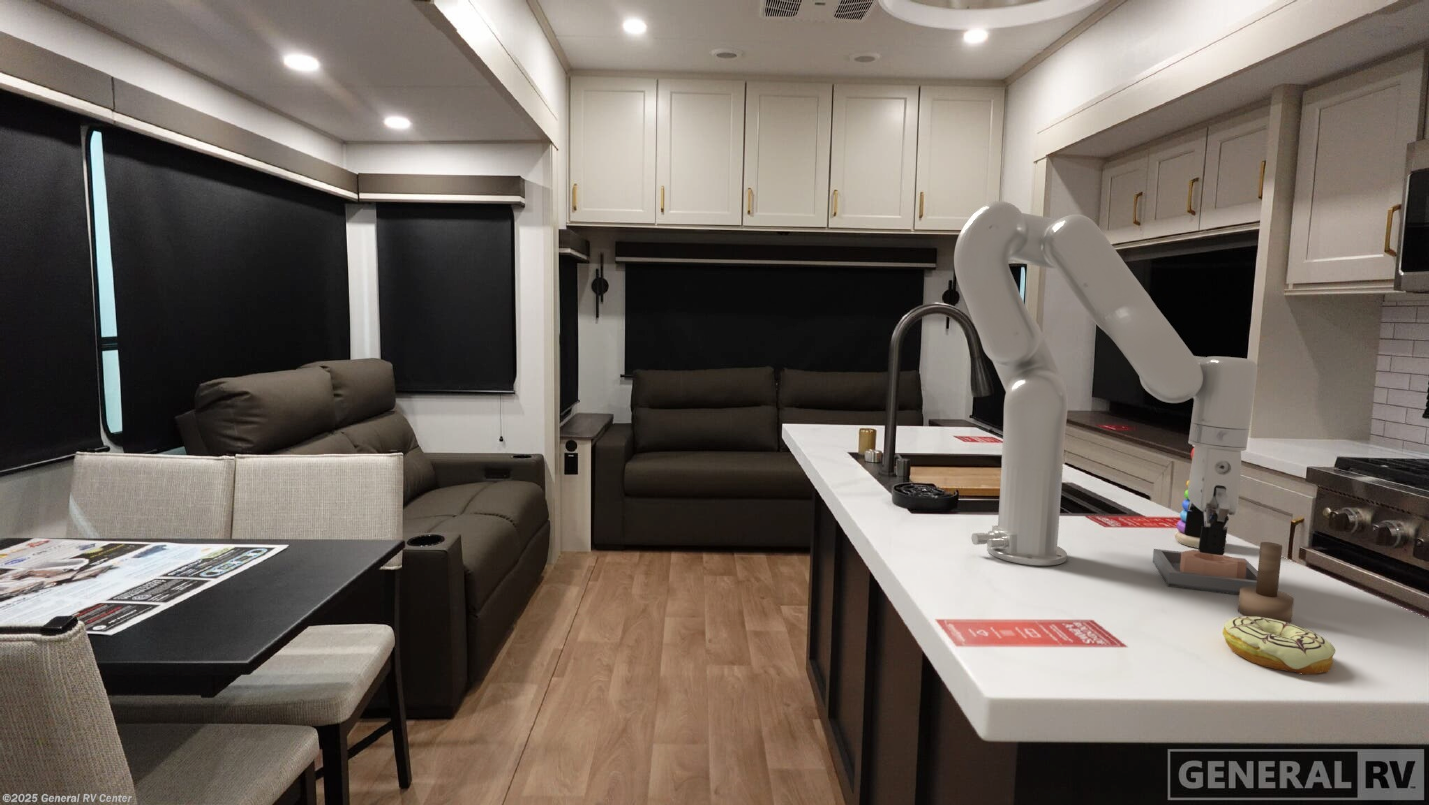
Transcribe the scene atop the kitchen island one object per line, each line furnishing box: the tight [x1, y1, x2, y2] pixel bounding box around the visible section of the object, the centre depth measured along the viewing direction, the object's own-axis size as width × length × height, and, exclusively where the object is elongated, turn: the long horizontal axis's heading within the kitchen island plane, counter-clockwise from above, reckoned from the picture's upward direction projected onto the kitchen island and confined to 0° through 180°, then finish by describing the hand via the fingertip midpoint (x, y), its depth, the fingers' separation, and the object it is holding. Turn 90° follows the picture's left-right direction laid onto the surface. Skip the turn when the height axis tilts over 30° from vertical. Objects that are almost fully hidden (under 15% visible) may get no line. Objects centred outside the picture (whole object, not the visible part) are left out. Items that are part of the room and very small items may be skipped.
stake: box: [1237, 541, 1295, 624], centre depth 105 cm, size 6×6×10 cm
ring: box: [1180, 549, 1247, 579], centre depth 119 cm, size 7×8×3 cm
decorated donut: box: [1222, 615, 1336, 675], centre depth 92 cm, size 10×11×4 cm
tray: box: [1152, 548, 1258, 596], centre depth 120 cm, size 13×13×2 cm
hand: (1202, 544), depth 120 cm, fingers open, 9 cm apart
